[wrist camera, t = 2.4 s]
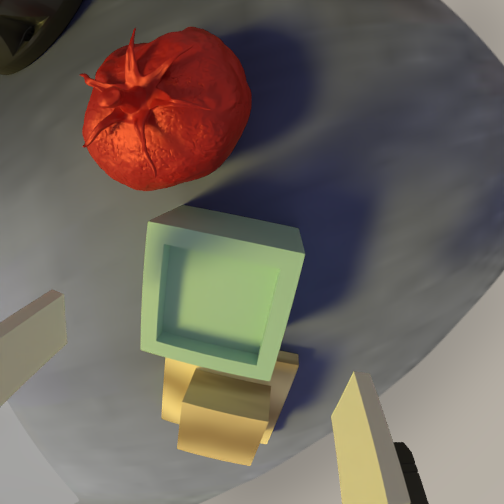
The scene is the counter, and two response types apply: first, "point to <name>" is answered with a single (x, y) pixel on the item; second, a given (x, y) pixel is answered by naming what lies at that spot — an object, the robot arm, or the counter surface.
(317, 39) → the counter surface
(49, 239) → the counter surface
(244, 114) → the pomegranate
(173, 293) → the cup block
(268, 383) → the plate
